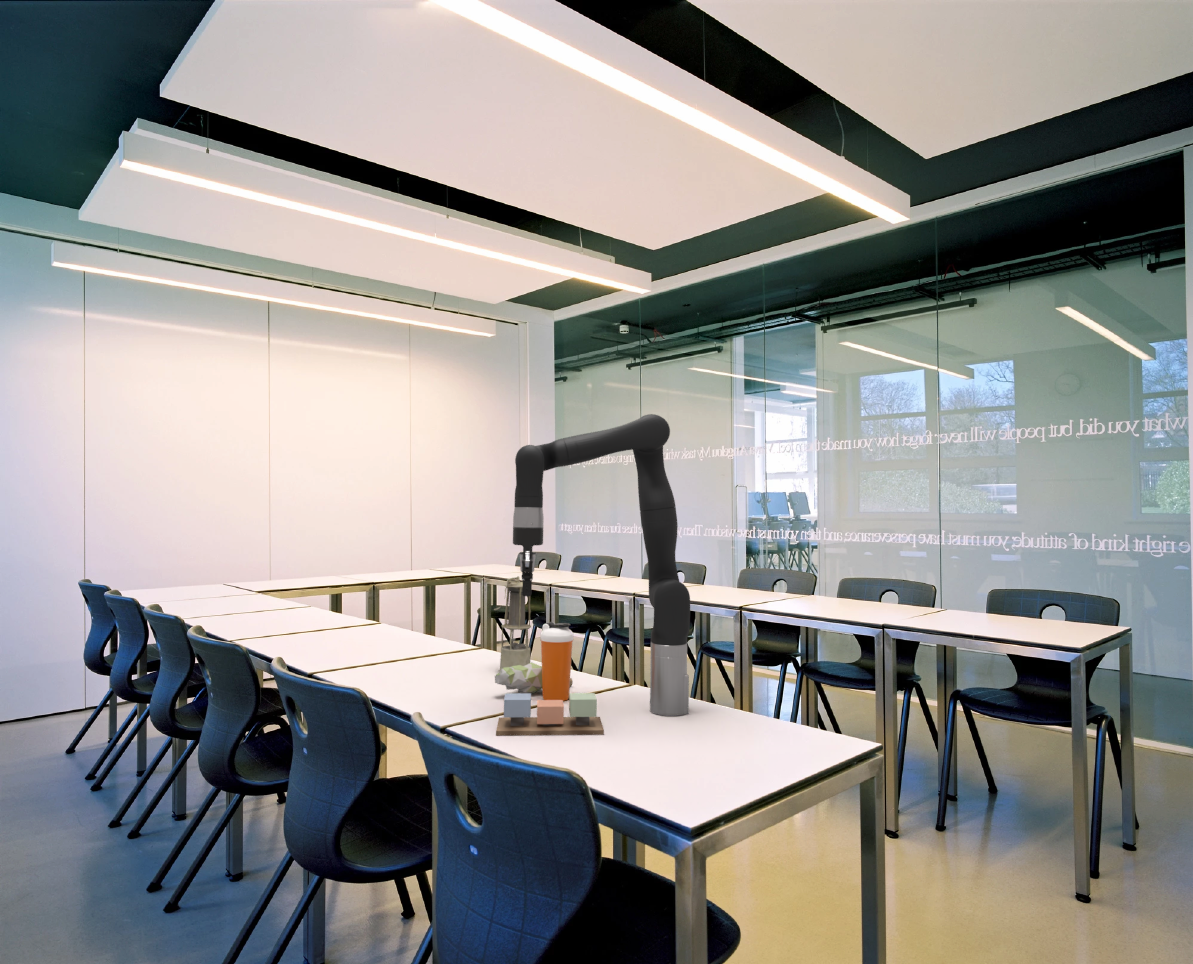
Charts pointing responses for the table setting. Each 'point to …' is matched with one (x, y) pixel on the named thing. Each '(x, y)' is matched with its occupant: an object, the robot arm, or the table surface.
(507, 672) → the decorative object
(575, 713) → the button sage
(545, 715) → the button terracotta
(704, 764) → the table surface
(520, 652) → the lamp
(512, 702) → the button slate
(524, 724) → the board
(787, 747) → the table surface
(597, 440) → the robot arm
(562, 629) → the shaker bottle
